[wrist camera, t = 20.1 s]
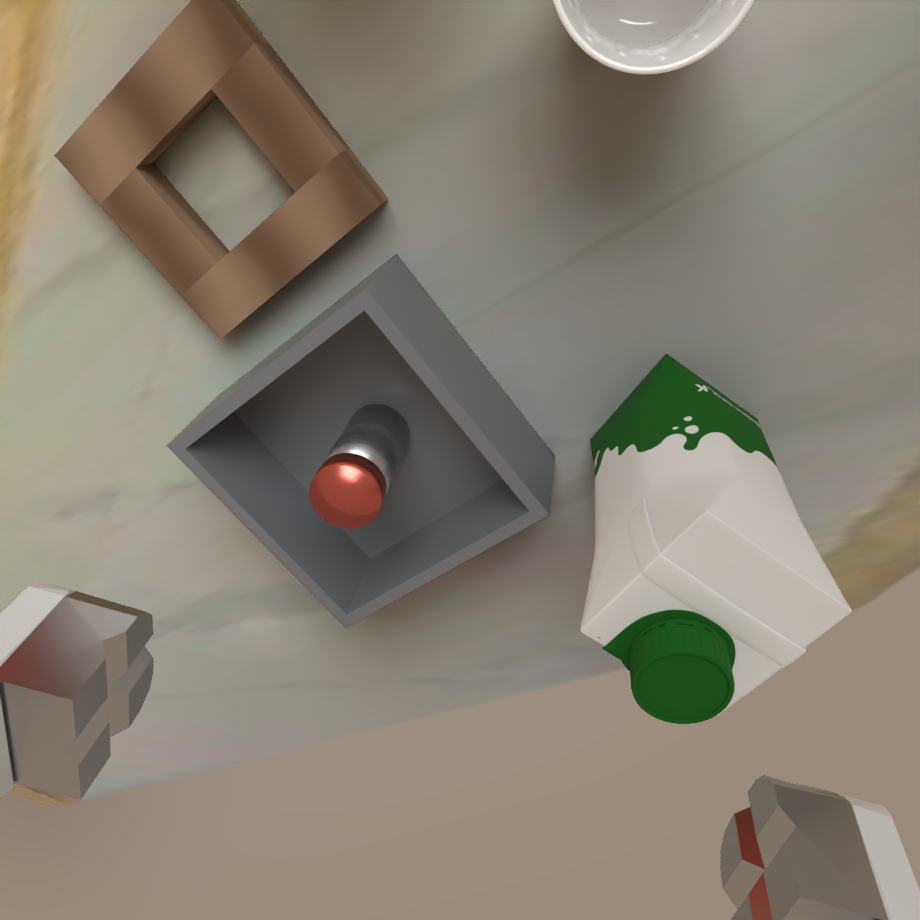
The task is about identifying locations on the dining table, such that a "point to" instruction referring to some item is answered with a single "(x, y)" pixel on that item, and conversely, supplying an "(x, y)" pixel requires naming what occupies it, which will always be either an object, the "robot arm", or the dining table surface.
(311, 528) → the bin
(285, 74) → the socket block
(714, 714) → the milk carton
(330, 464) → the red and grey cylinder
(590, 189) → the dining table surface
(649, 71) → the white cup
